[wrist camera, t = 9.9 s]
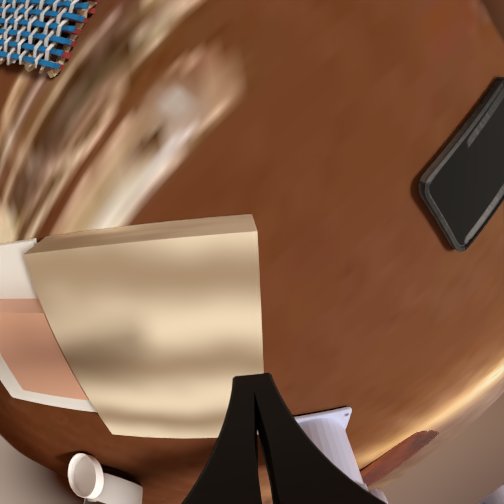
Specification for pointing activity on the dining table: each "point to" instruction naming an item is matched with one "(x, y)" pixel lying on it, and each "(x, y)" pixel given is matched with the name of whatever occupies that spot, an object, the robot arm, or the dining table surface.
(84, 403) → the mat
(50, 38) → the woven mat
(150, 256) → the block
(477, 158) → the phone
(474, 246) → the dining table surface
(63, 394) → the tile
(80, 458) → the spread jar
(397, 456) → the wooden tablet
